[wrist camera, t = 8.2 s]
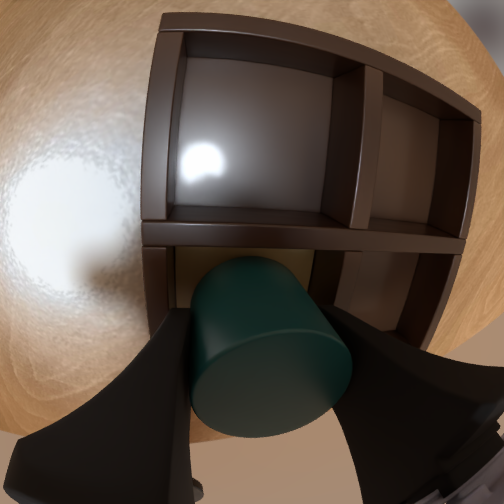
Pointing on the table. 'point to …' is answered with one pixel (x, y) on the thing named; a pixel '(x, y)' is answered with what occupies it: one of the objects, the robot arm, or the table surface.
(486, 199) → the table surface
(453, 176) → the grid
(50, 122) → the table surface
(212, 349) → the teal cylinder
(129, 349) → the table surface
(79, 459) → the robot arm
